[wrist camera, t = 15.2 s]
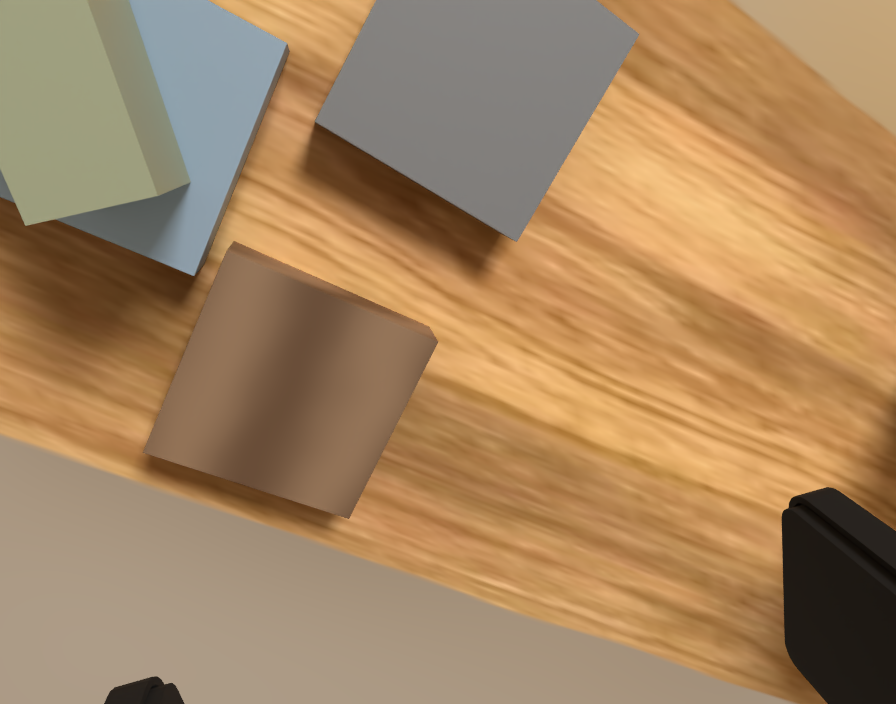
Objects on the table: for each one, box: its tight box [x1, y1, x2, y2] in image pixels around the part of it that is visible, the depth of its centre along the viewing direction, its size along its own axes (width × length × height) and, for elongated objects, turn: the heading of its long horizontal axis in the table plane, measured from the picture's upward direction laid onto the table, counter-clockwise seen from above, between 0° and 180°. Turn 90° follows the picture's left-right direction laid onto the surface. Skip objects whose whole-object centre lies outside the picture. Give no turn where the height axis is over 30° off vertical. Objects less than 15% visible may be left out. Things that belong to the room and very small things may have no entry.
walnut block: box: [143, 241, 438, 519], centre depth 31 cm, size 10×10×3 cm
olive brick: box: [0, 0, 191, 226], centre depth 21 cm, size 4×8×6 cm, turn 12°
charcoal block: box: [315, 0, 639, 242], centre depth 28 cm, size 10×10×3 cm
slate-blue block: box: [0, 0, 290, 276], centre depth 26 cm, size 10×10×3 cm
